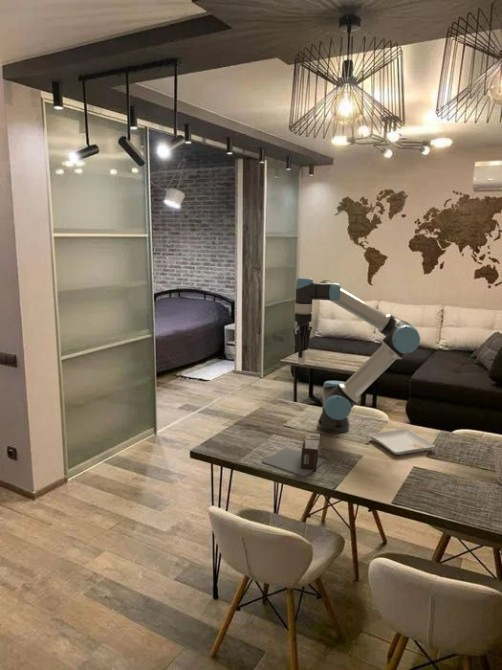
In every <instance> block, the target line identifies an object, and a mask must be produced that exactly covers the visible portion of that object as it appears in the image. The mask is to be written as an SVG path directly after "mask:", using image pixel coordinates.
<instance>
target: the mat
mask: <svg viewBox="0 0 502 670" xmlns="http://www.w3.org/2000/svg"><path fill="white" fill-rule="evenodd" d="M301 456H302V451H299V450H296V449H292V448H289V447H286V446H285V447H284V448H282V449H281V450H278V451H277V452H276V453H274V454H272V455H271V456H269V457H267V458H266V459H264V460H263V461H262V462H261V463H263V464H265V465H268V466H271V467H274V468H277V469H280V470H283V471H286V472H288V473H291V474H294V475H298V476H302V477H304V478H305V477H306V476H309V474H311V473H312V472H313V471H314V470H312V469H311V470H308V469H301ZM326 462H327V459H325V458H323V457H319V456H318V462H317V468H319V467H320V466H322V465H323V464H325V463H326Z"/></svg>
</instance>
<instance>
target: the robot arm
mask: <svg viewBox="0 0 502 670" xmlns="http://www.w3.org/2000/svg"><path fill="white" fill-rule="evenodd" d="M314 300H315V301H316V300H317V301H330V302H332V303H333V304H335V305H337V306H339V307H340V308H342V309H344V310H345V311H347V312H349V313H350V314H351V315H354V316H355V317H357V318H359V319H360V320H362V321H364V322H365V323H368V324H369V325H371V326H373V327H374V328H376V329H377V332H378V333H380V334H381V335H383V336H385V337H384V338H383V339H382V340H381V345H380V347H379V348H378V349H377V350H375V352H374V353H373V354H372V355H371V356H370V357H369V358H368V359H367V360H366V361H365V362H364V363H363V364H362V365H361V366H360V367H359V368H358V369H357V370H356V371H355V372H354V373H353V374H352V375H351V376H350V377H349V378H348V379H347V380H346V381H340V380H326V381H324V382H323V387H322V388H323V393H322V407H321V408H322V409H321V410H322V411H321V414H320V416H319V419H318V423H317V427H318V429H320V430H322V431H324V432H327V433H334V434H335V433H337V434H339V433H345V432H347V431H349V430H350V421H349V418H348V417H349V416H350V414H351V412H352V408H353V407H355V405H357V404H358V403H359V397H360V396H361V395H362V394H363V393H364V392H365V391H366V390H367V389H368V388H369V387H370V386H371V385H372V384H373V383H374V382H375V381H376V380H377V379H378V378H379V377H380V376H381V375H382V374H383V373H384V372H385V371H387V369H388V368H389V367H390V366H391V365H392V364H393V363H394V362H395V361H396V360H402V359H403V358H404V357H405V356H406V355H407V354H410V353H413V352H415V350H417V348H418V347H419V345H420V343H421V335H420V333H419V331H418V330H417V328H416V327H414V326H413V324H412V325H411V323H409V322H408V321H405V320H403V319H401V318H398V317H396V316H394V315H392V314H390V313H388V314H386V313H384V312H383V311H381V310H379V309H377V308H376V307H374V306H372V305H371V304H369V303H367V302H366V301H364V300H362V299H361V298H359V297H357V296H355V295H354V294H351V292H348V291H347V290H345V289H343V288H342V287H341V284H340V283H336V282H332V281H330V280H327V279H324V280H322V281H320V282H314V278H312V277H298V278H297V279H296V283H295V302H294V308H295V309H294V312H295V313H294V321H295V322H296V328H295V329H293V331H292V332H293V337H294V347H295V350H296V351H298V352H297V353H298V354H297V365H302V366H304V365H305V364H306V351H308V349H309V345H310V339H311V332H312V330H313V326H310V323H311V322H312V320H313V318H312V317H313V314H312V312H313V301H314Z"/></svg>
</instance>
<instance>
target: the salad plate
mask: <svg viewBox="0 0 502 670" xmlns="http://www.w3.org/2000/svg"><path fill="white" fill-rule="evenodd" d="M368 435H369V437H370V438H371V439H372V440H373V441H374V442H375V443H378V444H379V445H381V446H383V447H384V448H385V449H387V450H388V451H390V452H391V453H392V454H394V455H397V456H399V455H405V454H406V453H407V454H412V453H413V452H414V453H420V452H426V451H425V450H427V451H430V450H433V449H434V448H435V447H436V445H435V444H433V443H431V442H429V441H428V440H426V439H425V438H423V437H422V436H419V434H416V433H415V432H413V431H412V430H410V429H408V428H402V429H395V430H394V429H393V430H386V431H378V432H374V433H373V432H372V433H369V434H368ZM413 441H414V442H413ZM412 442H413V443H412ZM414 443H417V444H420V445H422V446H423V447H424V448H418V447H417V448H418V449H417V448H415V449H414V446H412V445H413V444H414ZM409 445H410V446H409ZM411 446H412V447H411ZM416 446H417V445H416ZM419 451H420V452H419Z"/></svg>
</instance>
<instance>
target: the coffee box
mask: <svg viewBox="0 0 502 670" xmlns="http://www.w3.org/2000/svg"><path fill="white" fill-rule="evenodd" d="M320 439H321V434H320V433H312V432H305V434H304V438H303V442H302V446H301V452H302V456H301V469H308V470H311V469H312V470H313V471H316V470H317V469H318V467H317V462H318V457H319V454H320V442H321V441H320Z"/></svg>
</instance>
